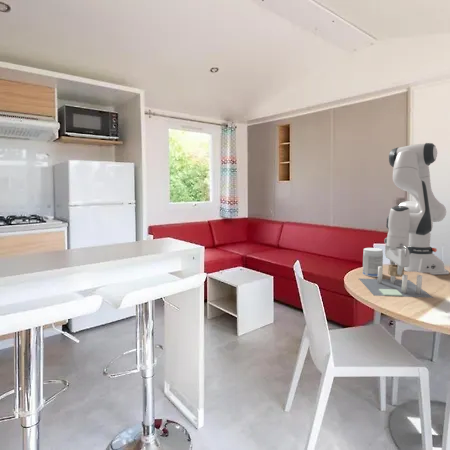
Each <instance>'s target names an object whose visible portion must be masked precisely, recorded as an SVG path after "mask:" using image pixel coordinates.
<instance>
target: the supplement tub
mask: <svg viewBox="0 0 450 450" xmlns="http://www.w3.org/2000/svg"><path fill="white" fill-rule="evenodd" d="M383 251H384V250H383V249H382V248H379V247H377V248H376V247H365V248H363V254H362V275H364V276H366V277H367V276H368V277H373V278H378V267H379V266H381V267H383V264H384V263H383V262H384V252H383ZM383 268H384V267H383Z"/></svg>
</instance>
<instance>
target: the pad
mask: <svg viewBox="0 0 450 450" xmlns="http://www.w3.org/2000/svg"><path fill="white" fill-rule="evenodd" d="M379 291H380V292H381V293H382V294H383V295H384V296H383V297H399V296H403V295H402V294H401V293H400V292H399V291H398V290H396V289H379Z"/></svg>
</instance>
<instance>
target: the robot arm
mask: <svg viewBox="0 0 450 450" xmlns="http://www.w3.org/2000/svg"><path fill="white" fill-rule="evenodd" d="M437 157H438V149H437V147H436V145H435V144H434V143H431V142H425V143H416V144H415V143H414V144H410V145H405V146H400V147H396V148H395V147H394V148H392V149H391V151H389V154H388V162H389V165H390V166H391V167H392V182H393V184H394V185H395V186H396V188H397V189H400V190H401V191H405V192H407V193H408V194H409V195H410V196H412V197H414V199H415V200H406V201H402V202H400V203H399V205H395V206H392V207H391V208H390V210H389V214H388V216H387V217H386V225H385V226H386V229H388V232H387V234H386V235H387V236H386V237H385V238H384V240H383V241H384V244H385V245H384V253H385V254H384V256H385V258H386V259H387V260H389V265H398V266H397V267H398V269H397V272H396V273H397V274H398V275H401V274H402V270H403V268H404V272H410V273H411V272H412V273H413V272H414V273H415V272H416V273H421V274H425V273H427V274H430V275H432V276H433V275H435V276H436V275H449V274H450V271H449V270H448V269H446V268H445V262H444V261H443V260H442V259H441V258H440V257H438V256H437V255H435V254H434V253H436V252H437V251H438V249H437V248H435V247H432V246H431V232H432V230H433V227H434V223H437V222H441V221H443V220H444V219H445V218H446V215H447V209H446V207H445V205H444V204H443V203H441V202H440V201H439V200H438V198H437V197H436V196H435V194H434V193H433V189H432V183H431V174H430V167H429V166H430V165H431V164H433V163H434V162H436V159H437Z"/></svg>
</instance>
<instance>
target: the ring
mask: <svg viewBox="0 0 450 450" xmlns="http://www.w3.org/2000/svg"><path fill="white" fill-rule="evenodd" d="M397 266H398V265H397V264H395V265H390V264H389V265H388V269H387V272H388V273H387V274H388V276H390V277H391V276H395V278H396V277H398V278H400V277H401V278H402V275H405V270H404V268H403V270H402V274H401V275H398V274H397V273H396V272H397V269H398V267H397Z"/></svg>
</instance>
